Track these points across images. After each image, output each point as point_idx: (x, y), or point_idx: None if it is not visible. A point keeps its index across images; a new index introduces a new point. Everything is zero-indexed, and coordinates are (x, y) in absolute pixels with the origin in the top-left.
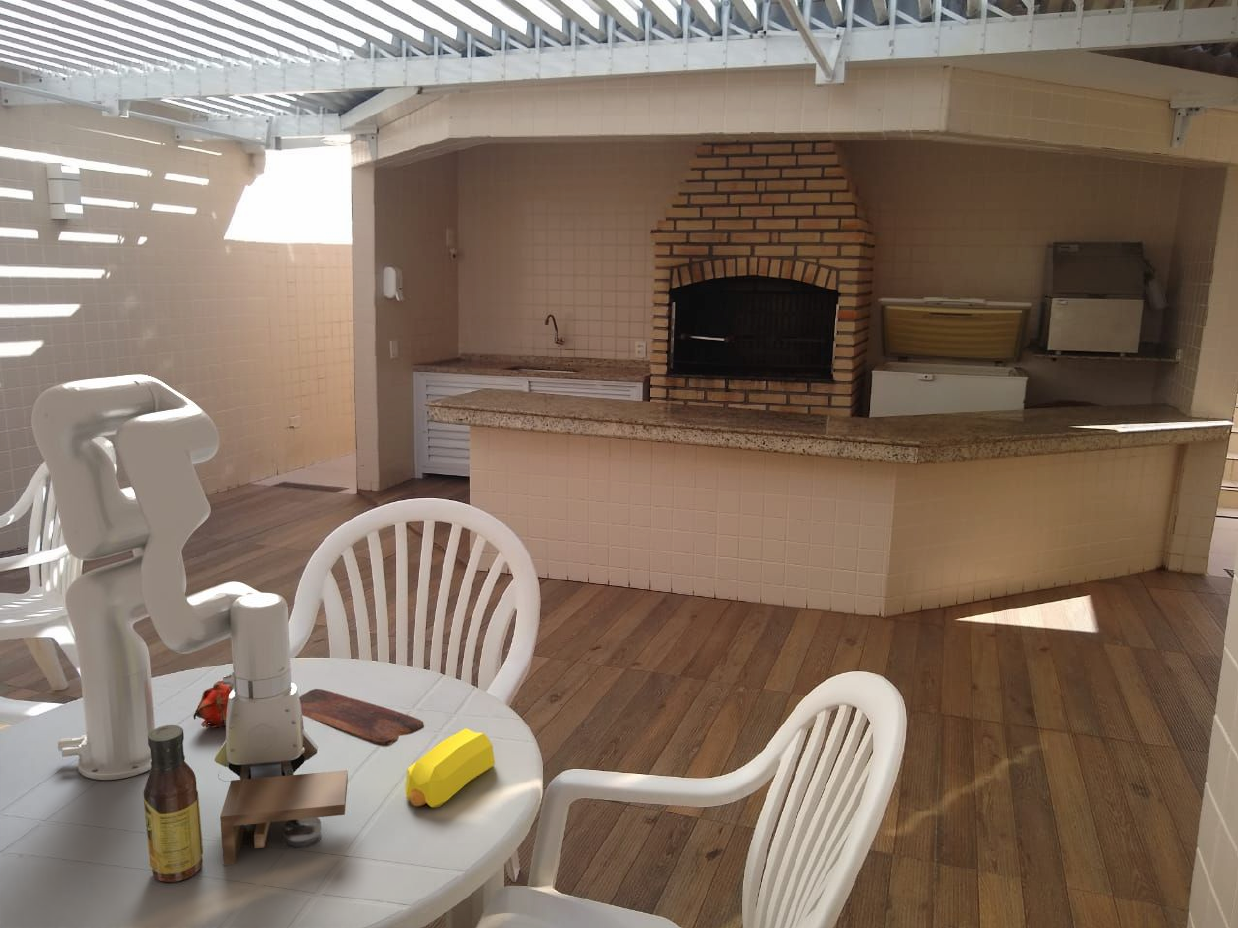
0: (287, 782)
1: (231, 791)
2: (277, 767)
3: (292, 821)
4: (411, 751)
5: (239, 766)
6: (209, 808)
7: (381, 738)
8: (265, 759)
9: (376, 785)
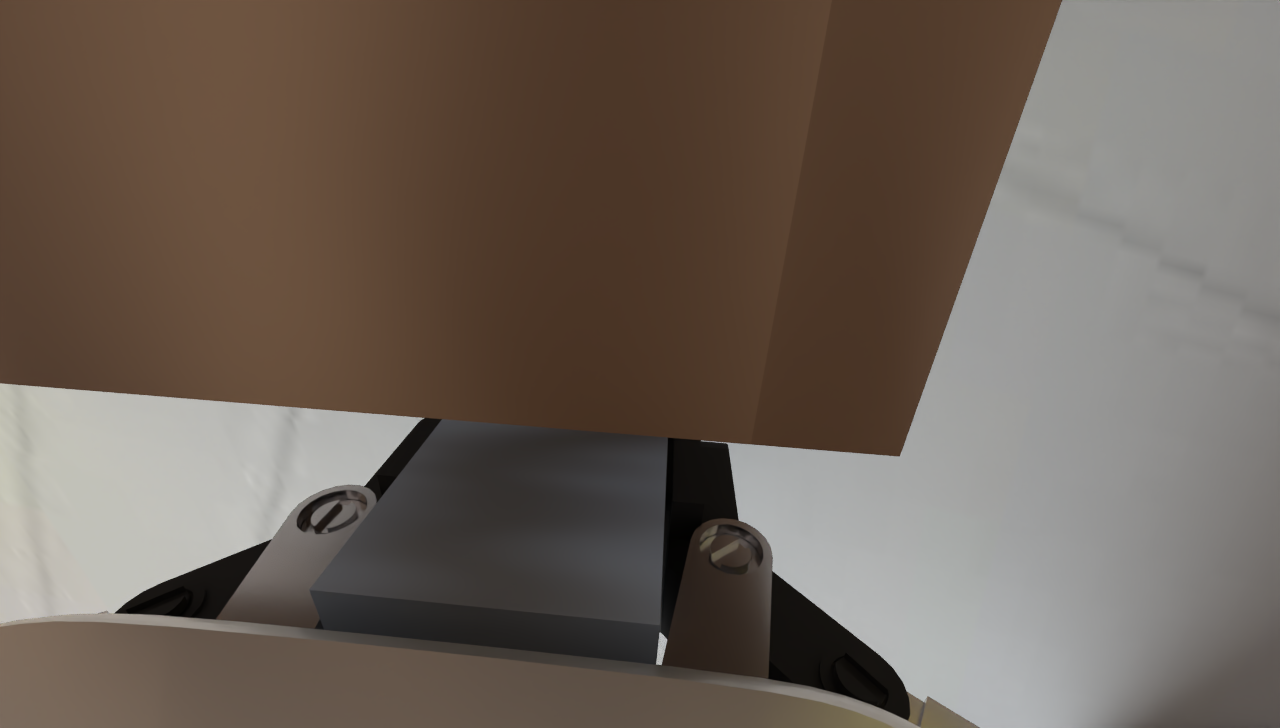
0: (109, 218)
1: (947, 133)
2: (365, 563)
3: None
4: None
5: (784, 670)
6: (896, 466)
7: None
8: (386, 694)
9: (118, 455)
